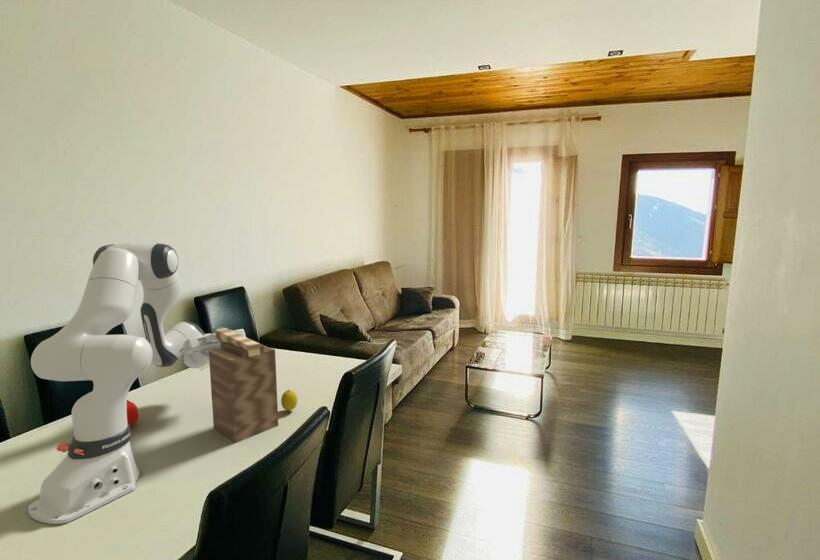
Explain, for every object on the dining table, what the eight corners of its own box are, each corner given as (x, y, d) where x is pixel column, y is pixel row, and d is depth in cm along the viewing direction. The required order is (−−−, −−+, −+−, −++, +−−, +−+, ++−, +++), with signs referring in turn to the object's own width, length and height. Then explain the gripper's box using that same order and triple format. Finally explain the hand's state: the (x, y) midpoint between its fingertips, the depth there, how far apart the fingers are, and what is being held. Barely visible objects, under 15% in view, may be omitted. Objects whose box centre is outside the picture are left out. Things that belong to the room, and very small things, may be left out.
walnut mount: (234, 443, 130) (229, 354, 126) (213, 428, 139) (208, 345, 135) (278, 425, 141) (274, 343, 137) (256, 413, 150) (252, 335, 147)
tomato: (78, 439, 132) (75, 412, 131) (108, 420, 144) (106, 396, 143) (121, 440, 131) (119, 413, 130) (148, 421, 144) (146, 396, 143)
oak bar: (260, 354, 133) (259, 343, 132) (249, 357, 130) (249, 346, 130) (223, 336, 148) (223, 326, 148) (213, 338, 146) (213, 328, 145)
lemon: (293, 415, 149) (292, 393, 148) (278, 413, 150) (277, 392, 149) (300, 408, 154) (299, 387, 153) (286, 407, 155) (285, 386, 154)
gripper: (175, 344, 146) (188, 330, 137) (233, 333, 161) (248, 319, 152) (180, 361, 144) (194, 348, 136) (238, 348, 160) (254, 336, 151)
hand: (223, 333), depth 144 cm, fingers closed on oak bar, 4 cm apart
